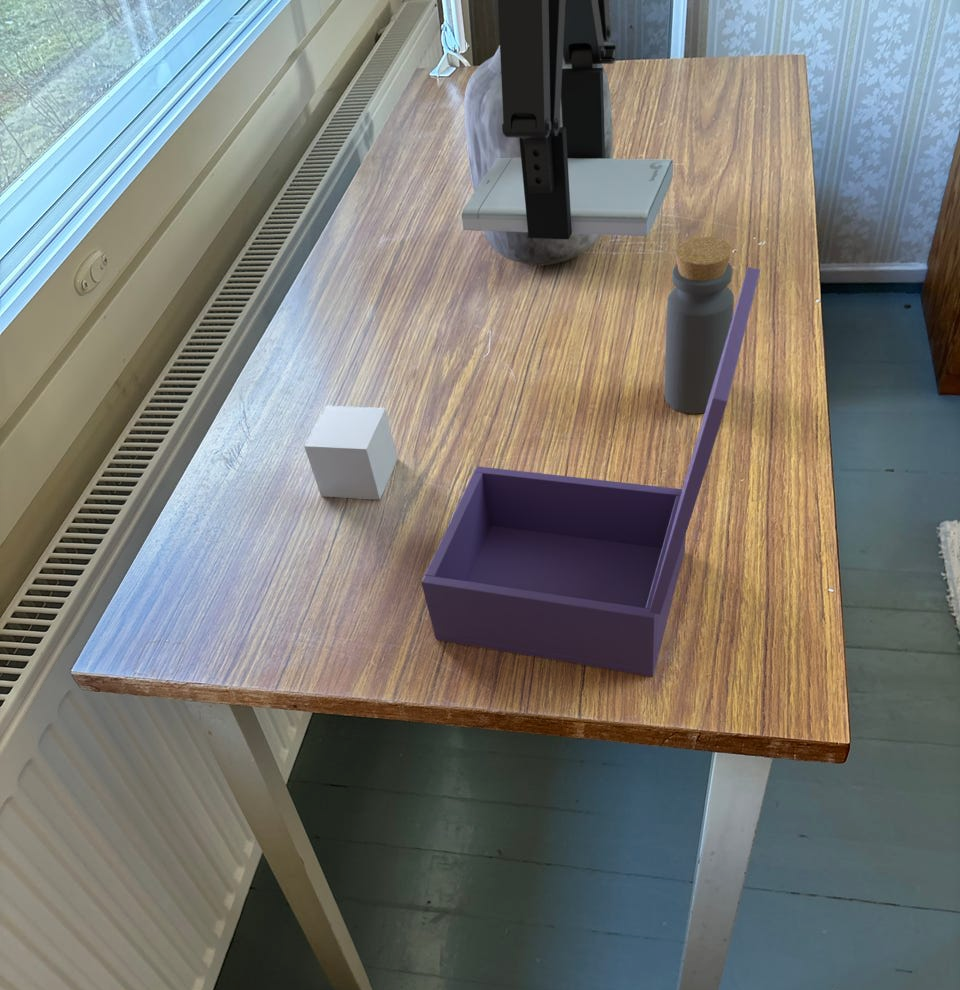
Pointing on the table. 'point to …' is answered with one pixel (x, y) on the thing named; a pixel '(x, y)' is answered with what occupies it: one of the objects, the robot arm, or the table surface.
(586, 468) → the table surface
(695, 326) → the bottle
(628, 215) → the hard drive
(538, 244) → the vase
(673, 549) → the lid
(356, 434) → the white cube
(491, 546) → the box
